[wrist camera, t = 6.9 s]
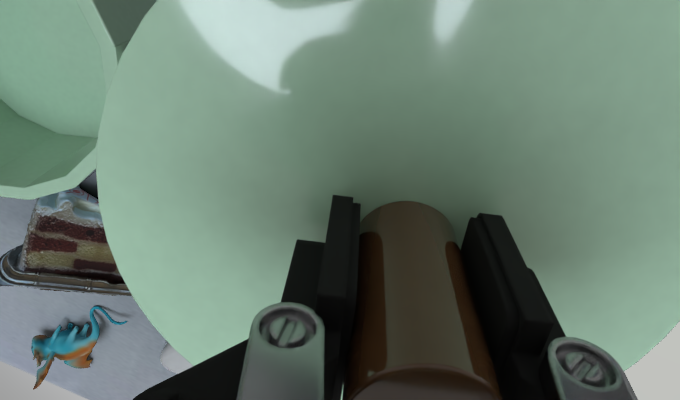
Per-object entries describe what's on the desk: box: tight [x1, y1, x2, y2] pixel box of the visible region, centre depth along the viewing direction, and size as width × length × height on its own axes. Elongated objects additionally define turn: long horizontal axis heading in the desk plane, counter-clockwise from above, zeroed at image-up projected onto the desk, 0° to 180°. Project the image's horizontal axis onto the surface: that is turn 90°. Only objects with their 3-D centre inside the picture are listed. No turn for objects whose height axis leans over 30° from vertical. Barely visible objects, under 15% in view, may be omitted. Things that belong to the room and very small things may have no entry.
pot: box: [0, 0, 157, 200], centre depth 27 cm, size 16×21×8 cm
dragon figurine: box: [31, 306, 127, 389], centre depth 42 cm, size 7×7×8 cm
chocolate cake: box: [0, 185, 133, 297], centre depth 36 cm, size 10×7×12 cm
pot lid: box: [96, 0, 680, 400], centre depth 11 cm, size 17×17×7 cm
